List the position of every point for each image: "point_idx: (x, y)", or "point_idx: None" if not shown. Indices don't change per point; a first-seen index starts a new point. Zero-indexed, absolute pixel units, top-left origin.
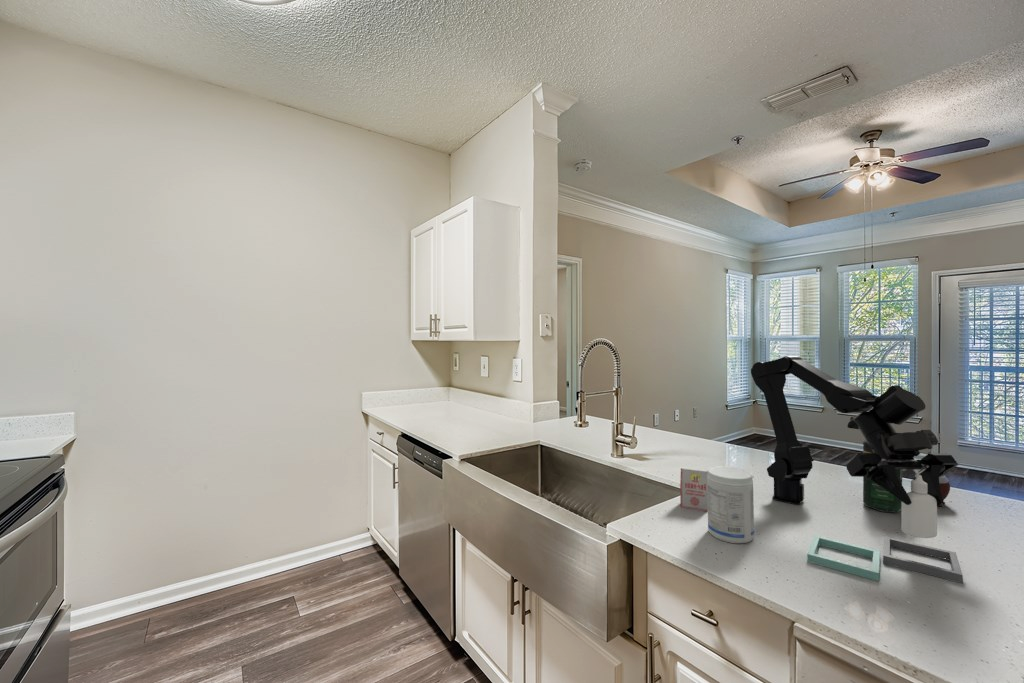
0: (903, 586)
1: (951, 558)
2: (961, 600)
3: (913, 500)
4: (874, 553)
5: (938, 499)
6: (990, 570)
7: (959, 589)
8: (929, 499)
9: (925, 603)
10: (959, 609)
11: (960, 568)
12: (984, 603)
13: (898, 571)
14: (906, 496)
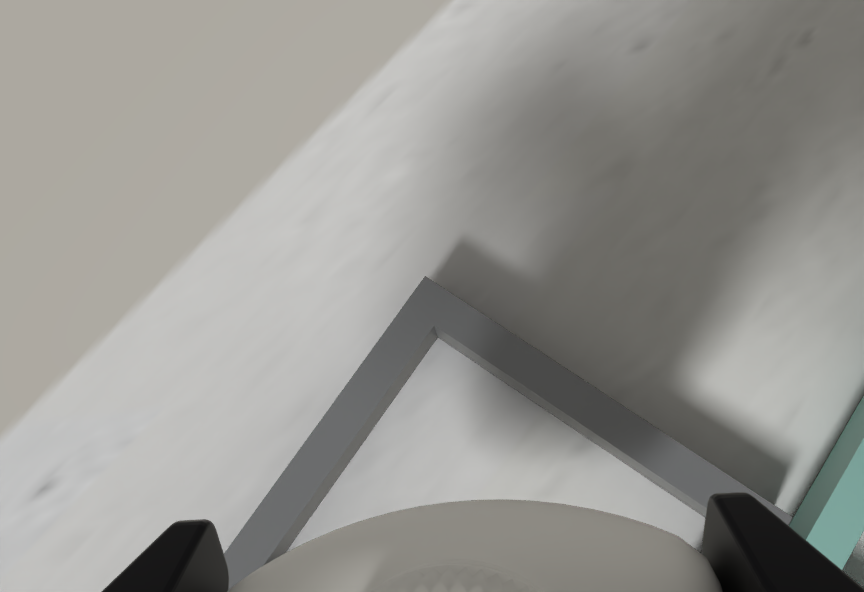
0: (819, 216)
1: (293, 516)
2: (587, 114)
3: (661, 533)
4: (845, 545)
5: (195, 578)
6: (102, 478)
7: (505, 222)
8: (388, 525)
9: (806, 62)
10: (665, 34)
11: (363, 363)
12: (488, 102)
13: (732, 401)
14: (803, 556)
